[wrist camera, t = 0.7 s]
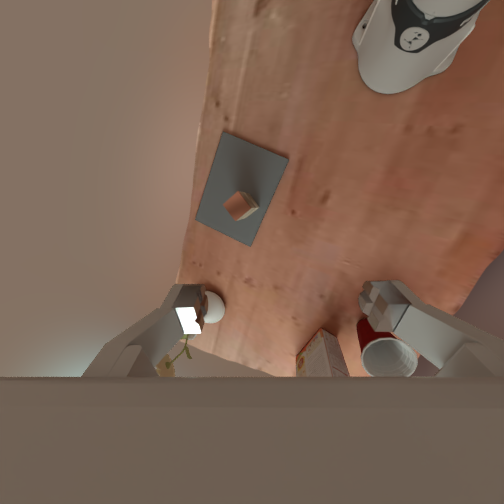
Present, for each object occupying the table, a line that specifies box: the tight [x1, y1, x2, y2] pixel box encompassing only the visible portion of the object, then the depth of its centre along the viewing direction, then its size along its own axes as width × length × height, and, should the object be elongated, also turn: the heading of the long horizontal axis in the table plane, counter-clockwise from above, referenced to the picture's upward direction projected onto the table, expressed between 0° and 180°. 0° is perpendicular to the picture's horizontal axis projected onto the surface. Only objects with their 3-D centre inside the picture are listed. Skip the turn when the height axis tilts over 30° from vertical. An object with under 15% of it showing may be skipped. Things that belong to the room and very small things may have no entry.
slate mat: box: [195, 132, 289, 246], centre depth 49 cm, size 24×18×1 cm
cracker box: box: [296, 328, 350, 377], centre depth 46 cm, size 14×6×21 cm, turn 152°
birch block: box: [223, 191, 259, 221], centre depth 44 cm, size 4×4×10 cm
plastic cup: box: [357, 319, 418, 377], centre depth 45 cm, size 11×11×12 cm
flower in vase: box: [155, 291, 225, 377], centre depth 49 cm, size 13×11×25 cm
